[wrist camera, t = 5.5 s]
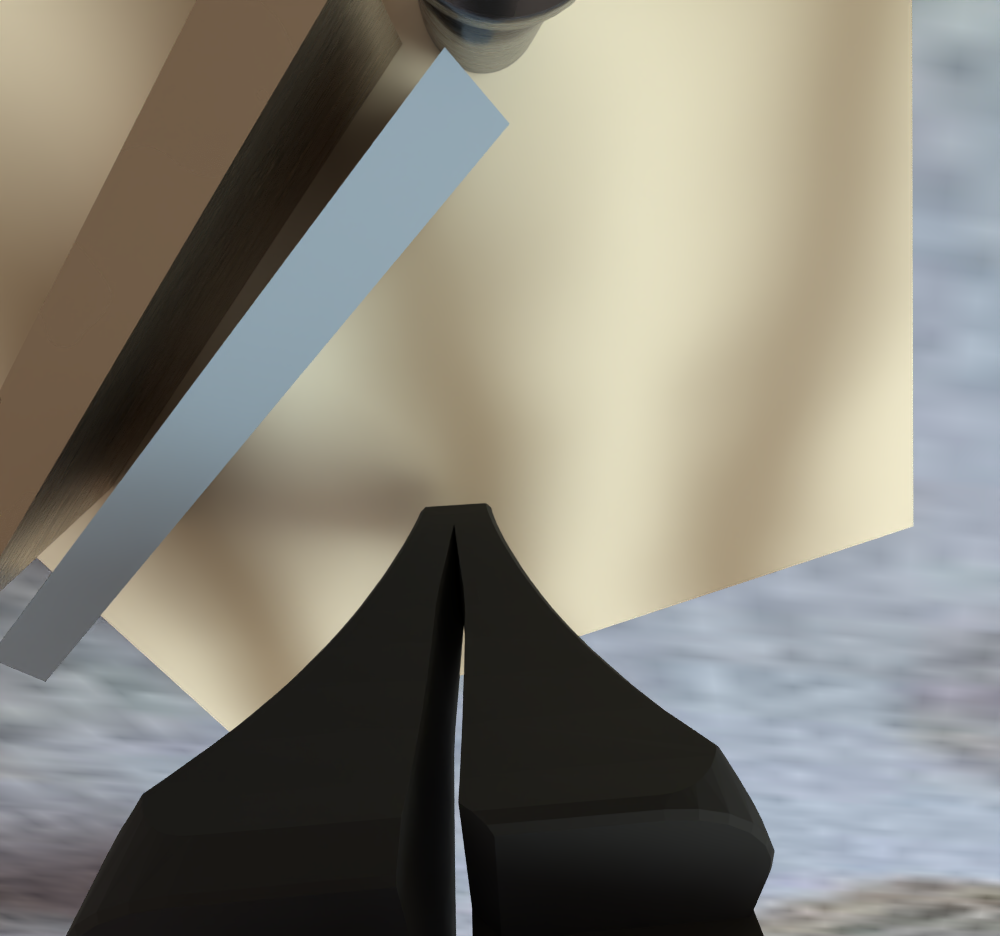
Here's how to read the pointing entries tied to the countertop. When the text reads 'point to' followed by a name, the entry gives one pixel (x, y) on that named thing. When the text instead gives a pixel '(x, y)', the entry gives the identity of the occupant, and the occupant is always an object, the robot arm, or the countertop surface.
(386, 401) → the maple board
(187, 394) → the slate bar
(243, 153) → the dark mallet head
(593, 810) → the robot arm
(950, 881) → the countertop surface
